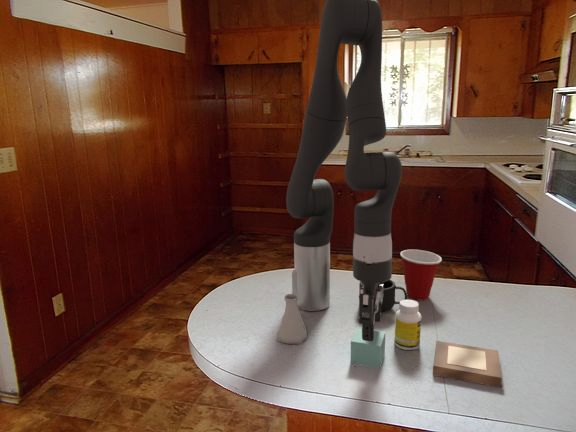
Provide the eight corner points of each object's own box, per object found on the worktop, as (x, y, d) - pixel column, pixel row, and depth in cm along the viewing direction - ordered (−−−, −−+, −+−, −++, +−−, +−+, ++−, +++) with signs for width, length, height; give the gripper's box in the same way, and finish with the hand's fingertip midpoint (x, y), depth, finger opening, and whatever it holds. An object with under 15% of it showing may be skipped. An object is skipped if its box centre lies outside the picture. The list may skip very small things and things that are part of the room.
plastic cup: (444, 305, 117) (446, 261, 114) (401, 304, 117) (403, 261, 115) (434, 288, 127) (436, 248, 124) (395, 288, 128) (397, 248, 125)
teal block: (350, 363, 91) (350, 341, 90) (356, 348, 97) (357, 327, 96) (380, 368, 89) (380, 346, 88) (384, 353, 95) (385, 332, 94)
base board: (432, 374, 87) (433, 365, 86) (435, 349, 96) (436, 340, 95) (500, 387, 82) (501, 377, 82) (497, 359, 91) (498, 349, 91)
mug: (357, 314, 112) (357, 288, 111) (360, 299, 121) (361, 275, 119) (406, 319, 109) (407, 292, 108) (406, 303, 118) (407, 278, 116)
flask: (311, 331, 104) (311, 292, 102) (302, 347, 98) (302, 305, 95) (282, 327, 107) (281, 288, 104) (271, 342, 100) (270, 301, 98)
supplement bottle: (420, 352, 95) (423, 309, 92) (394, 349, 96) (396, 307, 93) (418, 339, 100) (421, 298, 98) (393, 337, 101) (395, 297, 99)
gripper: (360, 243, 96) (360, 313, 99) (345, 264, 83) (345, 344, 86) (396, 245, 93) (394, 317, 96) (386, 267, 80) (385, 350, 84)
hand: (371, 330), depth 91 cm, fingers open, 8 cm apart
